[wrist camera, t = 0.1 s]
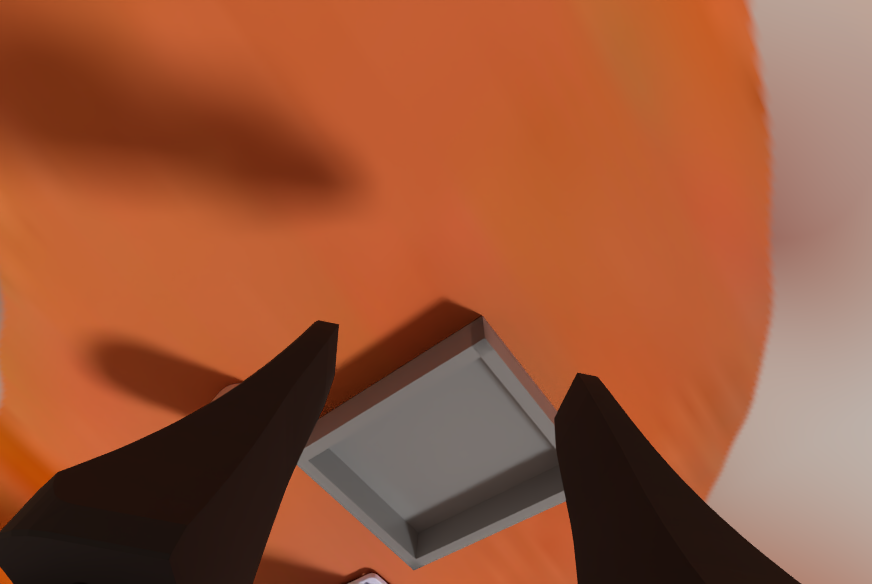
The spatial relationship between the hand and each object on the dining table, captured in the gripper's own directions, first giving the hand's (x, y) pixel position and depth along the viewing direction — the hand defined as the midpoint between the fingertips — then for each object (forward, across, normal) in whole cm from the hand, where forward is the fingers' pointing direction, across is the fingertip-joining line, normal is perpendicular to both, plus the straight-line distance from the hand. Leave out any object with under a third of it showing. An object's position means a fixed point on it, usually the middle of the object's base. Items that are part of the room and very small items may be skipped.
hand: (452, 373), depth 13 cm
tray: (+8, -2, +14) cm, 16 cm away
